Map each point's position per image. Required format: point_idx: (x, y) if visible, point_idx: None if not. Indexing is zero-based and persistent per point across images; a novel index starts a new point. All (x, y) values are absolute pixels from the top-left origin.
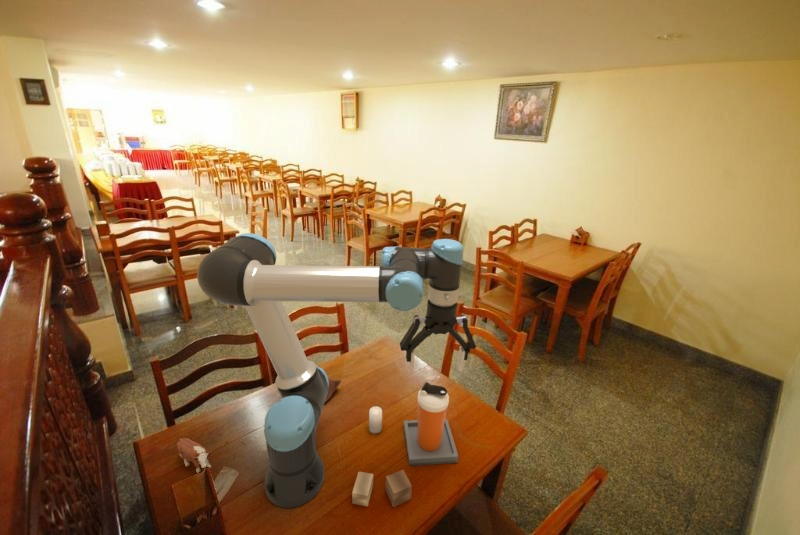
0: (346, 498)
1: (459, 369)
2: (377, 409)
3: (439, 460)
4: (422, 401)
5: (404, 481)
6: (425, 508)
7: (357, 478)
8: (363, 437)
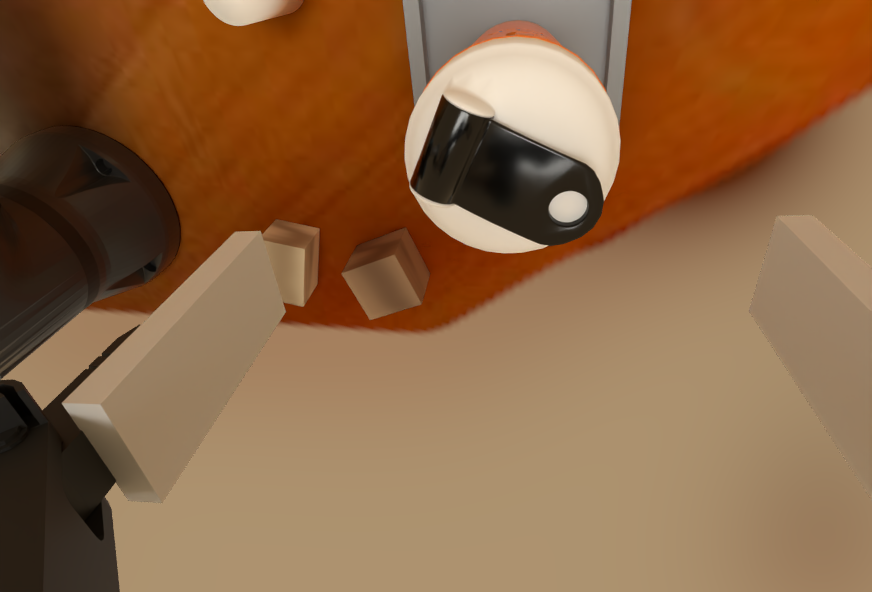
0: None
1: (760, 309)
2: None
3: None
4: (429, 214)
5: (399, 291)
6: (468, 297)
7: None
8: (242, 39)
